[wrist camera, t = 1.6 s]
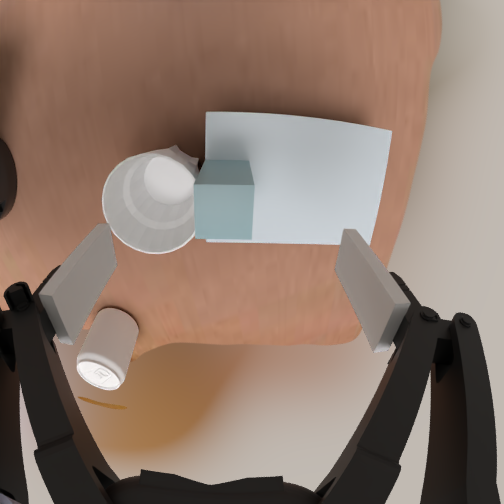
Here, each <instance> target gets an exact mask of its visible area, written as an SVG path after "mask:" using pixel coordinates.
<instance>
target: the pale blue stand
mask: <svg viewBox="0 0 504 504" xmlns="http://www.w3.org/2000/svg"><path fill="white" fill-rule="evenodd" d="M391 135H392V131H390V130H386V129H381V128H377V127H371V126H366V125H361V124H355V123H349V122H343V121H336V120H329V119H322V118H314V117H305V116H296V115H285V114H272V113H254V112H206V138H205V162H204V164H203V166H202V168H201V170H200V172H199V174H198V176H197V178H196V180H195V182H194V218H195V239H206V242H236V243H290V244H334V245H340V243H341V238H342V233H343V229H356V230H357V231H358V233H359V234H360V235H361V236H362V238H363V239H364V240H365V241H366V243H367V244H368V245H370V242H371V238H372V234H373V230H374V226H375V221H376V217H377V213H378V208H379V204H380V199H381V194H382V189H383V184H384V179H385V173H386V167H387V162H388V155H389V149H390V142H391Z"/></svg>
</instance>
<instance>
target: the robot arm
mask: <svg viewBox="0 0 504 504" xmlns="http://www.w3.org/2000/svg"><path fill="white" fill-rule="evenodd" d="M15 196H16V172H15V166H14V162H13V159H12V156H11V154H10V151H9V149H8V148H7V146H6V144H5V143H4V142H3V140H2V139H1V138H0V220H1V219H2V218H4V217H5V216H6V215H7V214H8V213H9V212H10V210H11V209H12V207H13V204H14V201H15ZM116 267H117V261H116V256H115V251H114V246H113V240H112V235H111V229H110V224H97V225H96V226H95V228H94V229H93V230H92V231H91V232H90V233H89V234H88V235H87V236H86V237H85V238H84V240H83V241H82V242H81V243H80V244H79V245H78V246H77V247H76V249H75V250H74V251H73V252H72V253H71V254H70V255H69V257H68V258H67V259H66V260H65V261H64V263H63V264H62V265H59V266H58V267H56V268H55V269H53V270H52V271H51V272H50V273H49V275H48V276H47V278H45V279H44V281H43V283H41V284H40V286H39V287H38V288H37V290H36V291H35V292H34V293H33V295H32V294H31V291H30V289H29V286H28V284H27V283H26V282H17V283H14V284H13V285H11V286H10V287H8V288H7V289H6V291H5V292H4V298H5V300H6V302H7V304H8V306H9V309H10V310H6V311H2V310H1V308H0V504H29V502H28V491H27V484H26V478H25V471H24V464H23V457H22V446H21V433H20V407H19V405H20V404H19V400H20V399H19V398H20V384H21V388H22V393H23V397H24V401H25V405H26V409H27V413H28V416H29V420H30V423H31V427H32V430H33V433H34V436H35V439H36V442H37V446H38V449H37V450H35V451H34V456H35V460H36V463H37V465H38V468H39V471H40V473H41V475H42V478H43V480H44V483H45V485H46V487H47V489H48V491H49V494H50V496H51V498H52V500H53V502H54V504H385V502H386V500H387V498H388V496H389V494H390V492H391V491H392V489H393V486H394V484H395V482H396V480H397V478H398V476H399V473H400V471H401V466H400V465H399V460H400V457H401V455H402V452H403V450H404V448H405V445H406V443H407V440H408V438H409V435H410V432H411V430H412V427H413V425H414V422H415V419H416V416H417V413H418V410H419V407H420V404H421V401H422V397H423V394H424V391H425V388H426V384H427V380H428V377H429V373H430V371H431V410H430V432H429V445H428V454H427V463H426V470H425V478H424V483H423V489H422V495H421V501H420V504H501V503H500V499H499V493H498V488H497V484H496V476H497V449H496V448H497V447H496V429H495V417H494V408H493V400H492V393H491V387H490V381H489V375H488V370H487V365H486V360H485V356H484V351H483V347H482V343H481V339H480V335H479V331H478V328H477V324H476V322H475V321H474V320H473V318H472V317H471V316H469V315H468V314H465V313H456V314H455V315H454V317H453V319H452V321H449V320H443V319H440V317H439V315H438V313H436V312H435V311H434V310H433V309H431V308H429V307H425V306H421V305H420V303H419V302H418V301H417V299H416V298H415V296H414V295H413V293H412V292H411V291H409V288H408V287H407V286H406V285H405V283H404V281H403V280H402V279H401V278H400V277H399V276H398V275H397V274H395V273H394V272H388V270H387V269H386V268H385V266H384V265H383V264H382V262H381V261H380V260H379V258H378V257H377V256H376V254H375V253H374V252H373V250H372V249H371V248H370V247H369V245H368V244H367V243H366V241H365V240H364V239H363V238H362V236H361V235H360V234H359V233H358V231H357V230H356V229H343V233H342V238H341V243H340V248H339V252H338V257H337V261H336V266H335V272H336V274H337V276H338V278H339V280H340V282H341V284H342V286H343V288H344V290H345V292H346V294H347V296H348V298H349V300H350V302H351V304H352V307H353V309H354V311H355V313H356V315H357V317H358V319H359V321H360V324H361V326H362V328H363V330H364V332H365V335H366V337H367V339H368V341H369V344H370V346H371V348H372V350H373V353H374V352H382V351H388V350H389V348H390V346H391V344H392V342H394V344H395V346H396V349H395V351H394V353H393V354H392V356H391V358H390V360H389V362H388V367H387V369H386V372H385V373H384V376H383V378H382V380H381V382H380V384H379V386H378V389H377V391H376V393H375V395H374V397H373V399H372V401H371V403H370V405H369V407H368V409H367V411H366V413H365V414H364V417H363V418H362V420H361V422H360V424H359V425H358V427H357V429H356V431H355V432H354V434H353V436H352V438H351V439H350V441H349V443H348V444H347V446H346V448H345V449H344V451H343V452H342V454H341V456H340V457H339V459H338V460H337V462H336V464H335V465H334V467H333V468H332V469H331V471H330V472H329V474H328V475H327V476H326V477H325V479H324V480H323V481H322V482H321V484H320V485H319V486H318V487H317V489H316V490H315V491H314V492H313V491H311V490H309V489H307V488H304V487H302V486H299V485H296V484H291V483H286V482H283V477H282V476H276V477H256V478H245V479H240V480H236V481H231V482H226V483H221V484H215V485H207V484H204V483H200V482H196V481H193V480H190V479H187V478H184V477H181V476H178V475H175V474H169V473H161V472H154V471H148V470H142V469H141V474H140V476H134V477H129V478H125V479H122V480H120V479H119V478H118V477H117V475H116V474H115V473H114V472H113V470H112V469H111V468H110V467H109V465H108V464H107V462H106V461H105V459H104V457H103V455H102V453H101V452H100V450H99V448H98V447H97V444H96V442H95V441H94V439H93V437H92V435H91V433H90V431H89V429H88V427H87V425H86V423H85V421H84V418H83V416H82V414H81V412H80V410H79V407H78V405H77V403H76V401H75V398H74V396H73V393H72V391H71V388H70V386H69V383H68V380H67V378H66V375H65V372H64V370H63V367H62V364H61V361H60V358H59V355H58V352H57V349H56V346H55V343H54V341H53V337H54V336H55V334H57V337H58V339H59V341H60V343H65V344H70V345H74V343H75V341H76V339H77V337H78V335H79V333H80V331H81V329H82V327H83V325H84V323H85V321H86V320H87V318H88V316H89V314H90V312H91V310H92V308H93V307H94V305H95V303H96V301H97V299H98V298H99V296H100V294H101V292H102V290H103V289H104V287H105V285H106V284H107V282H108V280H109V278H110V277H111V275H112V273H113V272H114V270H115V268H116Z"/></svg>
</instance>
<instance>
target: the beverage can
mask: <svg viewBox="0 0 504 504" xmlns="http://www.w3.org/2000/svg"><path fill="white" fill-rule="evenodd" d="M138 333H139V329H138V326H137V324H136V322H135V321H134V319H133V318H132V317H131V316H129V315H128V314H127V313H125V312H123V311H121V310H118V309H115V308H105V309H102V310H100V311H99V312H98V314H97V315H96V317H95V320H94V322H93V324H92V326H91V328H90V330H89V332H88V334H87V337H86V338H85V341H84V343H83V345H82V347H81V350H80V352H79V354H78V356H77V371H78V373H79V375H80V376H81V377H82V378H83V379H84V380H85V381H87V382H88V383H90V384H91V385H93V386H95V387H98V388H101V389H105V390H114V389H117V388H118V387H119V386H120V384H122V383H123V381H124V380H125V377H126V373H127V370H128V366H129V363H130V359H131V356H132V353H133V349H134V346H135V343H136V340H137V336H138Z"/></svg>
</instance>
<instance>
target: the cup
mask: <svg viewBox="0 0 504 504" xmlns="http://www.w3.org/2000/svg"><path fill="white" fill-rule="evenodd" d="M198 161H199V158H194V157H190V156H189V155H187V154H185V153H184V152H182V151H180V149H179V148H178V146H177V145H174V146H172V147H170V148H167V149H159V150H154V151H150V152H146V153H142V154H138V155H135V156H132V157H129V158H127V159H126V160H124V161H122V162H121V163H119V164H118V165H117V166H116V167H115V168H114V169H113V171H112V172H111V173H110V174H109V176H108V178H107V180H106V183H105V185H104V188H103V194H102V207H103V213H104V216H105V219H106V221H107V224H110V229H111V230H112V231H113V233H114V234H115V235H116V236H117V237H118V238H119V239H120V240H121V241H122V242H123V243H124V244H126V245H128V246H129V247H131V248H133V249H135V250H138V251H141V252H144V253H150V254H162V253H168V252H172V251H174V250H176V249H179V248H181V247H183V246H184V245H185V244H186V243H187V242H189V241H190V240H191V239H192V238H193V236H194V235H195V218H194V182H195V180H196V178H197V176H198V174H199V169H198Z"/></svg>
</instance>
